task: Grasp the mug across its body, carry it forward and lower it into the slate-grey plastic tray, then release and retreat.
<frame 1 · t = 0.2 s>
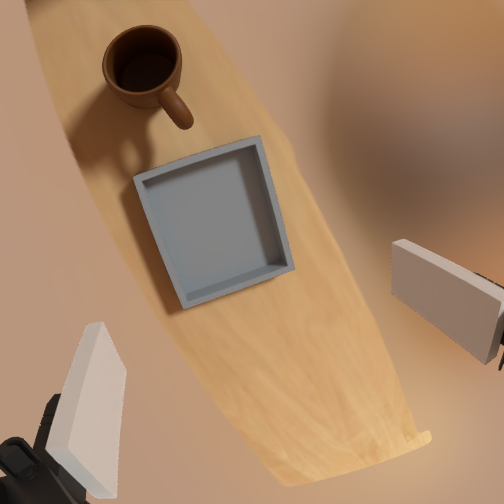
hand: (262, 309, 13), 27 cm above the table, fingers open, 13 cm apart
mug: (158, 93, 33), on the table
tray: (215, 220, 39), on the table
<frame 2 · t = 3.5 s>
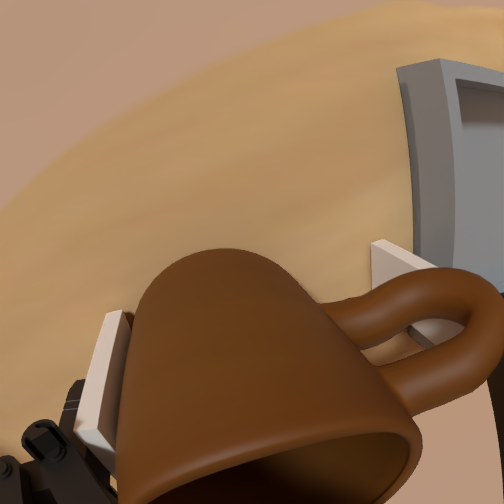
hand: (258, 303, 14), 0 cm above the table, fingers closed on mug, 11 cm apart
mug: (261, 296, 14), on the table, touching gripper
tray: (499, 192, 16), on the table
when the fingers open (3 cm above the table, at t = 9.5 s): mug drops 2 cm, resting on tray.
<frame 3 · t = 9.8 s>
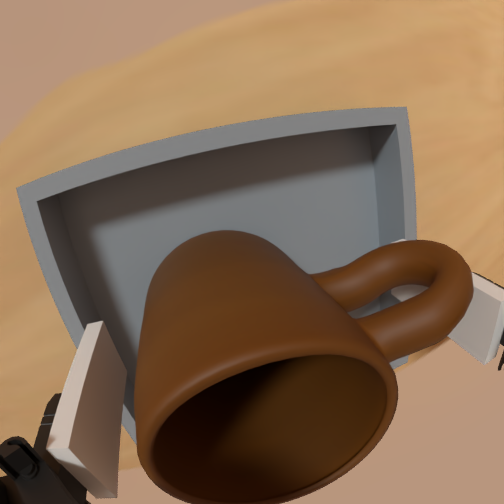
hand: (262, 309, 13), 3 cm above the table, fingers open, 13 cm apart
mug: (259, 274, 16), resting on tray
tray: (244, 277, 16), on the table
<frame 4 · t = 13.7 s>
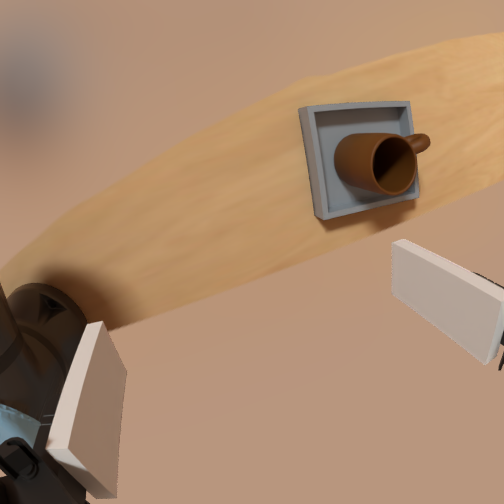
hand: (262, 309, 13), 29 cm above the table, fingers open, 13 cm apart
mug: (365, 152, 42), resting on tray
tray: (360, 154, 43), on the table
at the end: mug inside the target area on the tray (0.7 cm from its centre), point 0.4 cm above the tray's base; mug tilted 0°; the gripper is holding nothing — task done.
